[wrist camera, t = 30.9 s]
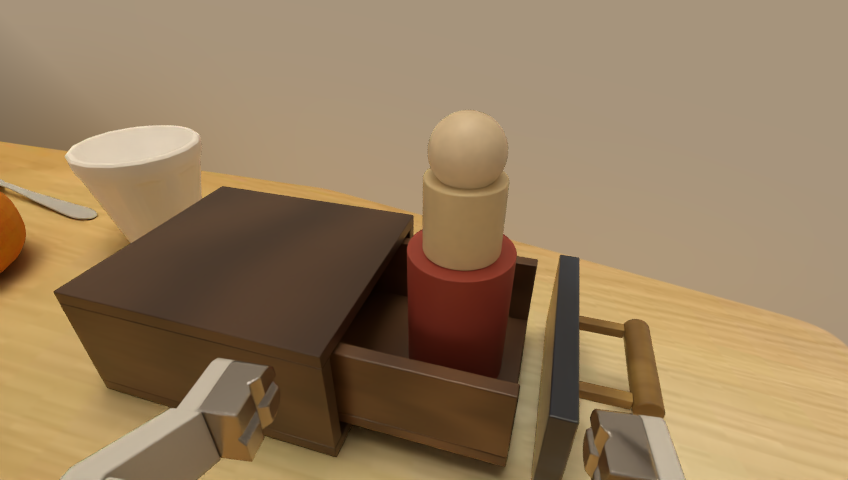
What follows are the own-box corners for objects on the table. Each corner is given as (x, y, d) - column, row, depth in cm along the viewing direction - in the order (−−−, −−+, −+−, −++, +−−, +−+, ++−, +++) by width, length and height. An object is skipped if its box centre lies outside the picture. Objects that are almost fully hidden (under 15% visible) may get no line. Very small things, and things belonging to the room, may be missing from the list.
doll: (471, 316, 30) (490, 90, 22) (519, 376, 26) (565, 121, 18) (394, 341, 28) (385, 102, 20) (433, 410, 24) (441, 141, 16)
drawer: (627, 338, 30) (651, 268, 27) (651, 528, 20) (694, 452, 17) (371, 287, 34) (366, 223, 31) (285, 421, 24) (265, 346, 21)
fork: (78, 225, 44) (71, 209, 43) (-59, 183, 52) (-67, 169, 51) (109, 211, 46) (102, 196, 45) (-26, 173, 54) (-34, 160, 53)
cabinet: (414, 299, 35) (413, 214, 31) (336, 457, 24) (319, 357, 19) (243, 265, 38) (222, 185, 34) (106, 387, 27) (52, 291, 23)
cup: (211, 260, 39) (181, 161, 34) (87, 271, 37) (36, 169, 33) (233, 207, 47) (211, 122, 42) (131, 214, 46) (97, 127, 41)
